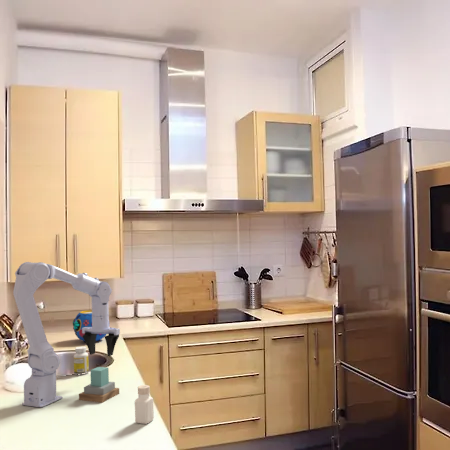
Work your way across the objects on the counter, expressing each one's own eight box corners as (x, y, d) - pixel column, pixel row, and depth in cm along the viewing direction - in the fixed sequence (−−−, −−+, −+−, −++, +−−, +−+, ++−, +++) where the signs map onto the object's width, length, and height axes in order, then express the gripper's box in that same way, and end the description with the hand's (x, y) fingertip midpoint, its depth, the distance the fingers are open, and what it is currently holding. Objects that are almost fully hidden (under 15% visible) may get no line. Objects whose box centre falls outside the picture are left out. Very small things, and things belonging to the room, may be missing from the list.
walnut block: (102, 404, 151) (102, 396, 151) (79, 401, 154) (78, 393, 154) (119, 395, 159) (119, 388, 159) (96, 393, 162) (96, 385, 162)
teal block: (101, 386, 154) (100, 371, 154) (90, 385, 156) (90, 370, 156) (108, 383, 158) (108, 367, 158) (98, 382, 159) (98, 366, 159)
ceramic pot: (72, 339, 251) (72, 310, 251) (107, 336, 257) (107, 307, 257) (74, 346, 234) (73, 315, 235) (111, 342, 240) (111, 312, 241)
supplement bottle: (83, 370, 189) (82, 345, 189) (91, 372, 186) (91, 347, 186) (71, 374, 185) (70, 348, 185) (79, 376, 181) (78, 349, 182)
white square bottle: (134, 423, 132) (133, 388, 133) (142, 418, 136) (141, 384, 136) (147, 425, 131) (146, 389, 131) (154, 419, 135) (153, 385, 135)
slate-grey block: (103, 395, 152) (103, 388, 152) (84, 393, 154) (83, 387, 154) (114, 388, 159) (114, 382, 159) (96, 386, 161) (95, 380, 161)
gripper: (124, 314, 171) (125, 353, 171) (90, 313, 177) (91, 350, 176) (112, 317, 164) (113, 358, 164) (77, 316, 170) (78, 355, 170)
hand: (101, 354), depth 170 cm, fingers open, 7 cm apart
